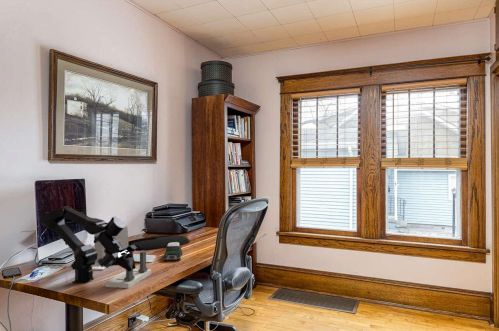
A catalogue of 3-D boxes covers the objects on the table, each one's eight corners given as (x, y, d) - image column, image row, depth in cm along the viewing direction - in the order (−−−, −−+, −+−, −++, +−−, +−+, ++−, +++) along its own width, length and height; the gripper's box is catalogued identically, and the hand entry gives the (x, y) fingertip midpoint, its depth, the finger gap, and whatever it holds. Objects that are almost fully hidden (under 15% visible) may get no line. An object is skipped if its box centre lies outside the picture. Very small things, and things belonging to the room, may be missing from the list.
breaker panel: (104, 286, 141) (104, 281, 141) (129, 272, 160) (129, 268, 160) (128, 288, 139) (128, 283, 139) (150, 273, 158) (150, 269, 158)
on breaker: (138, 271, 153) (138, 252, 153) (142, 269, 157) (142, 250, 157) (143, 272, 153) (143, 252, 153) (147, 269, 156) (147, 250, 156)
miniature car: (163, 262, 178) (163, 247, 178) (166, 254, 196) (166, 240, 196) (180, 262, 179) (180, 247, 179) (182, 253, 197) (182, 240, 197)
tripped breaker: (124, 280, 141) (124, 259, 142) (128, 277, 145) (128, 257, 145) (130, 280, 141) (130, 259, 141) (134, 278, 144) (134, 257, 145)
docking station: (195, 244, 223) (195, 237, 223) (134, 252, 200) (134, 244, 200) (181, 238, 244) (181, 231, 244) (124, 245, 221) (124, 237, 221)
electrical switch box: (118, 259, 193) (116, 224, 195) (129, 260, 182) (127, 223, 185) (92, 264, 183) (90, 227, 185) (102, 265, 172) (100, 226, 174)
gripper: (110, 250, 155) (132, 275, 153) (84, 261, 137) (107, 289, 134) (126, 234, 154) (147, 259, 152) (101, 243, 135) (125, 271, 133)
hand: (132, 269), depth 143 cm, fingers closed on tripped breaker, 3 cm apart
